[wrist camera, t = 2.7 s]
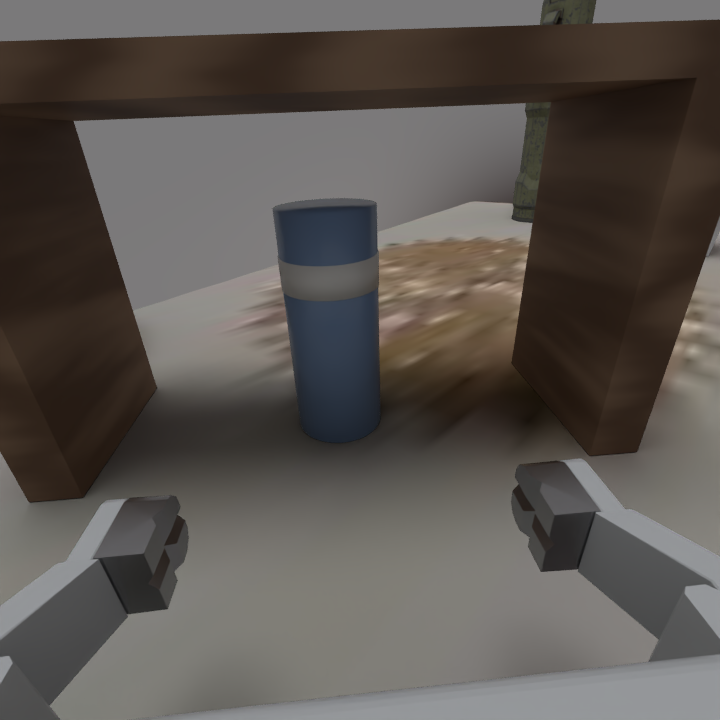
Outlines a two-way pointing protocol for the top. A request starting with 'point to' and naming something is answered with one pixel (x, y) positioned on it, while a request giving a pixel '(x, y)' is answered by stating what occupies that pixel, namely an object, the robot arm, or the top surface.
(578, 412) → the riser
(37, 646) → the robot arm
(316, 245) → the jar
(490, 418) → the top surface
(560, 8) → the thermos
